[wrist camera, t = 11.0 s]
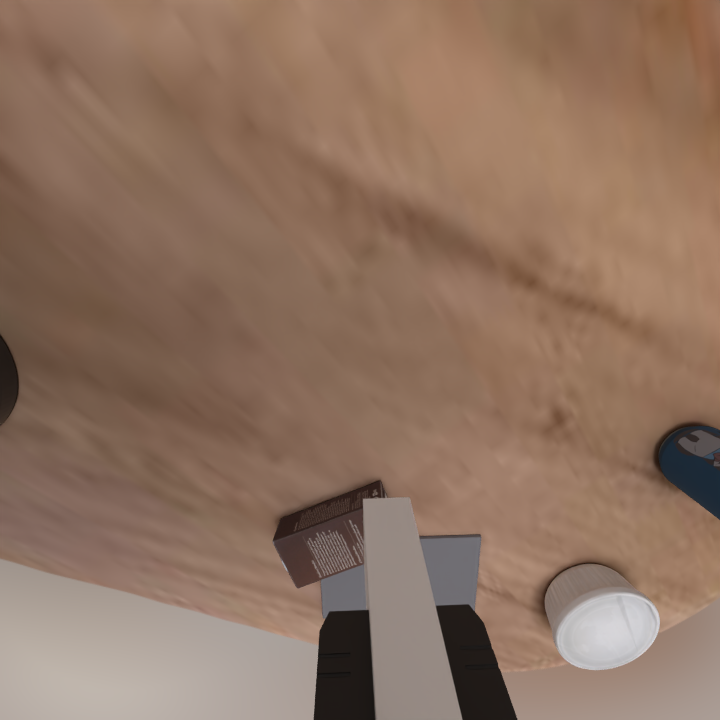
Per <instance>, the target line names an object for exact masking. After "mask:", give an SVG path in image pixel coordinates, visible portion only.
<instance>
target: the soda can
mask: <svg viewBox="0 0 720 720" xmlns="http://www.w3.org/2000/svg"><path fill="white" fill-rule="evenodd" d="M659 462H660V467H661V470H662V472H663V474H664V476H665V477H666V478H667V479H668V480H669V481H670V482H671V483H673V484H674V485H675V486H677V487H678V488H679V489H680V490H682V491H683V492H684V493H686V494H687V495H688V496H690V497H691V498H692V499H693V500H695V501H696V502H697V503H699V504H700V505H701V506H703V507H704V508H705V509H706V510H708V511H709V512H710V513H712V514H713V515H714V516H715V517H717V518H718V519H719V520H720V430H718V429H716V428H713V427H708V426H692V427H684V428H681V429H678V430H676V431H674V432H673V433H671V434H670V435H669V436H668V437H667V438H666V439H665V440H664V441H663V443H662V445H661V447H660V449H659Z"/></svg>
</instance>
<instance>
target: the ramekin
mask: <svg viewBox="0 0 720 720" xmlns="http://www.w3.org/2000/svg"><path fill="white" fill-rule="evenodd" d="M545 610H546V614H547V617H548V620H549V623H550V626H551V629H552V634H553V640H554V643H555V646H556V648H557V650H558V651H559V653H560V655H561V656H562V657H563V658H564V659H565V660H566V661H567V662H569V663H571V664H572V665H574V666H576V667H580V668H584V669H591V670H603V669H604V670H605V669H611V668H615V667H618V666H621V665H624V664H626V663H629V662H631V661H633V660H634V659H636V658H637V657H639V656H640V655H641V654H642V653H644V652H645V651H646V650H647V649H648V648H649V647H650V646H651V644H652V643H653V641H654V640H655V638H656V636H657V634H658V630H659V626H660V618H659V613H658V611H657V609H656V607H655V606H654V604H653V603H652V602H651V600H650V599H649V598H648V597H647V596H645V595H644V594H643V593H641V592H639V591H638V590H636V589H635V588H634V587H633V586H632V585H631V584H630V583H629V582H628V581H627V580H626V579H625V578H623V577H622V576H621V575H620V574H619V573H617V572H616V571H614V570H613V569H611V568H608V567H606V566H602V565H598V564H582V565H578V566H574V567H572V568H569V569H567V570H565V571H563V572H562V573H560V574H559V575H558V576H557V577H556V578H555V579H554V580H553V581H552V582H551V584H550V586H549V587H548V590H547V592H546V596H545Z"/></svg>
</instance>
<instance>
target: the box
mask: <svg viewBox="0 0 720 720" xmlns="http://www.w3.org/2000/svg"><path fill="white" fill-rule="evenodd" d="M373 498H388V497H387V495H386V493H385V490H384V488H383V485H382V482H381V481H378V482H376V483H373V484H370V485H368V486H365V487H363V488H360V489H357V490H355V491H352V492H350V493H347V494H345V495H342V496H339V497H337V498H334V499H331V500H329V501H326V502H324V503H321V504H319V505H316V506H314V507H311V508H308V509H306V510H303V511H300V512H298V513H295V514H292V515H290V516H287V517H285V518H282V519H281V520H280V522H279V525H278V528H277V531H276V533H275V536H274V539H273V544H274V546H275V548H276V550H277V552H278V554H279V556H280V558H281V561H282V563H283V565H284V567H285V569H286V570H287V572H288V573H289V575H290V576H291V578H292V580H293V582H294V584H295V586H296V587H297V588H301V587H303V586H306V585H309V584H311V583H314V582H317V581H319V580H322V579H325V578H328V577H331V576H333V575H336V574H339V573H341V572H344V571H347V570H349V569H352V568H355V567H358V566H361V565H363V564H364V525H363V499H373Z"/></svg>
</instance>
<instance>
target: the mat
mask: <svg viewBox="0 0 720 720" xmlns="http://www.w3.org/2000/svg"><path fill="white" fill-rule="evenodd" d="M419 539H420V543H421V547H422V551H423V556H424V560H425V564H426V568H427V572H428V577H429V581H430V585H431V589H432V594H433V598H434V602H435V606H438V605H462V604H469V605H470V606H471V608H472V609H473V610H474V611H475V600H476V589H477V578H478V567H479V556H480V545H481V535H450V536H419ZM321 592H322V610H323V618H326V617H327V615H328V613H329V611H350V610H367V608H366V590H365V571H364V564H363V565H361V566H358V567H355V568H352V569H349V570H347V571H344V572H341V573H339V574H336V575H333V576H331V577H328V578H325V579H322V580H321Z"/></svg>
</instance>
